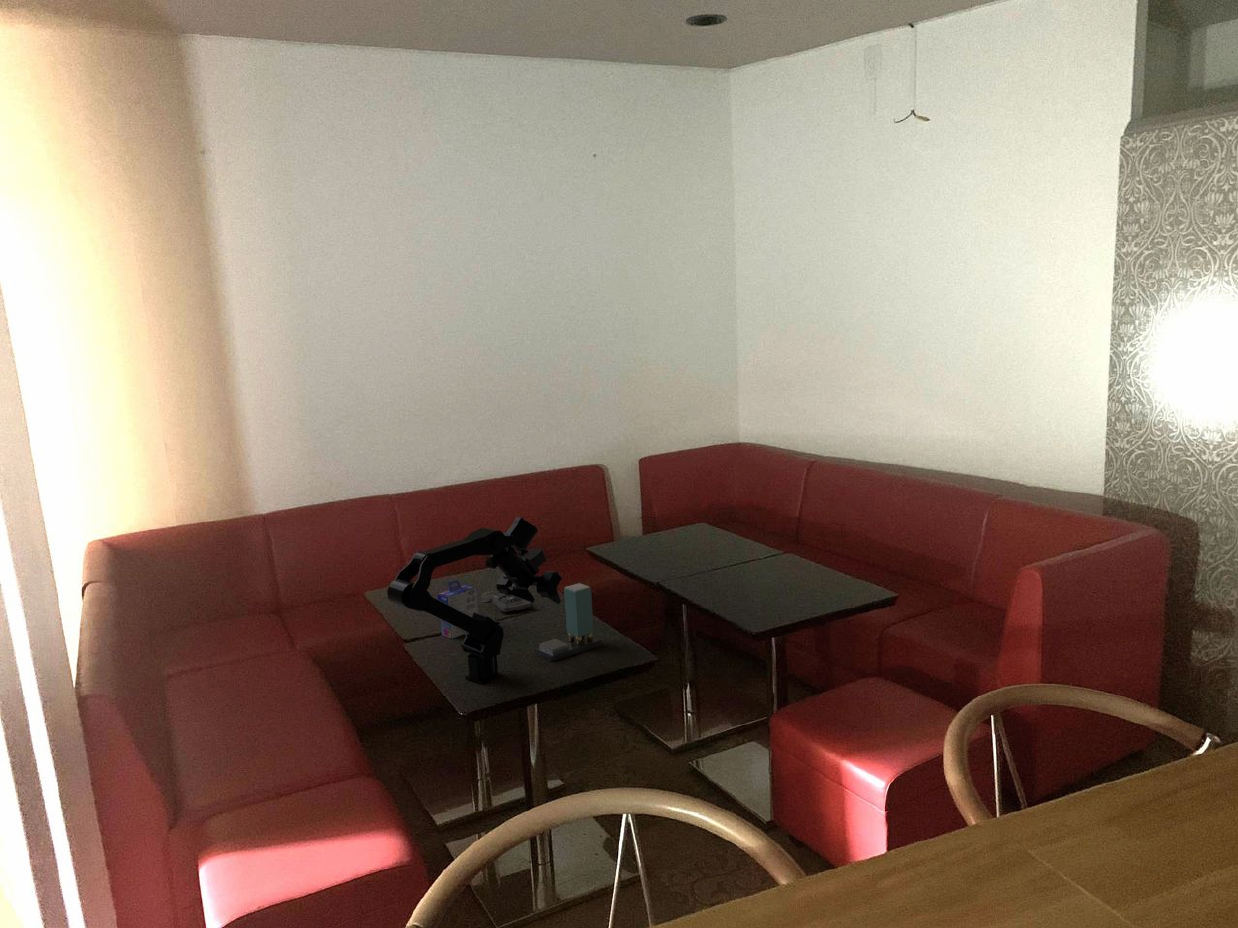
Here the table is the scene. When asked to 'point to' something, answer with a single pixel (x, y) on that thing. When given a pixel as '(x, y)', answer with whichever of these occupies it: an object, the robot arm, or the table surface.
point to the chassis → (566, 646)
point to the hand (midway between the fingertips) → (546, 601)
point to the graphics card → (506, 601)
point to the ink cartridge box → (458, 605)
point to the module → (578, 610)
